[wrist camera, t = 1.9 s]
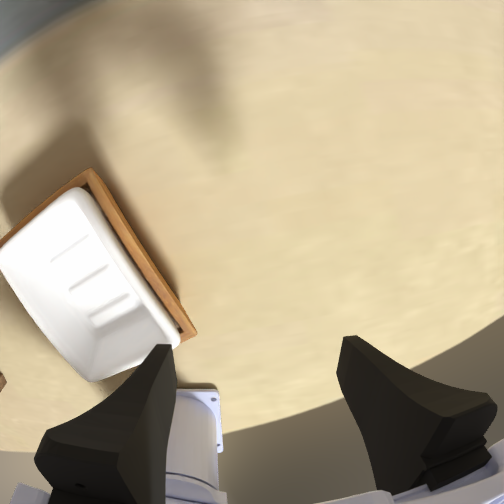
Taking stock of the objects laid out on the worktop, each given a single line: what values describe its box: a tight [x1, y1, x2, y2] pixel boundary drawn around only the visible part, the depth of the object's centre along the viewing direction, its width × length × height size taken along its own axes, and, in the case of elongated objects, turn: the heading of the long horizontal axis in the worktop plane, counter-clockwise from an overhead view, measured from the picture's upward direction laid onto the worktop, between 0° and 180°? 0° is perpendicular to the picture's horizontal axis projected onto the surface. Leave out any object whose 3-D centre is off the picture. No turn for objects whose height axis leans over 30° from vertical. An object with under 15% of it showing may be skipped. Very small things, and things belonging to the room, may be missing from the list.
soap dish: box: [0, 167, 197, 382], centre depth 19 cm, size 12×10×5 cm
